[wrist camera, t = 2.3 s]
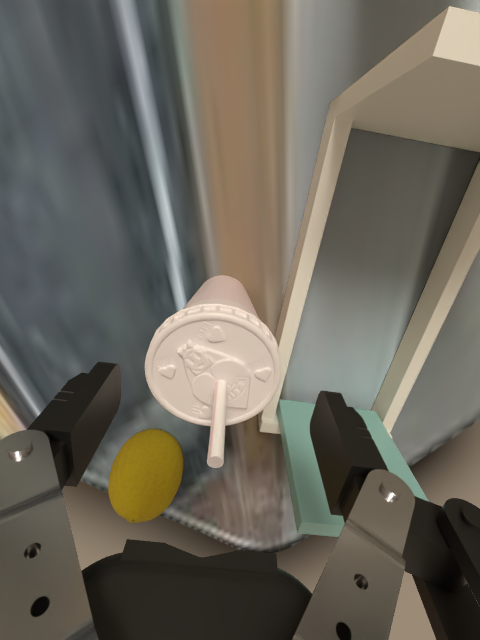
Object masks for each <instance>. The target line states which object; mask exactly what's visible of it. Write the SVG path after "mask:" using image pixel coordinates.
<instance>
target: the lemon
mask: <svg viewBox="0 0 480 640" xmlns="http://www.w3.org/2000/svg"><path fill="white" fill-rule="evenodd" d="M182 473H183V455H182V451H181V447H180V445H179V444H178V442H177V440H176V439H175V438H174V437H173V436H172V435H171V434H169V433H167V432H166V431H163V430H159V429H148V430H143V431H141V432H139V433H137V434H135V435H133V436H132V437H131V438H130V439H129V440H128V441H127V442H126V443H125V444H124V445H123V446H122V448H121V449H120V451H119V453H118V454H117V456H116V458H115V460H114V462H113V465H112V468H111V473H110V479H109V487H108V492H109V497H110V502H111V504H112V506H113V508H114V509H115V511H116V512H117V513H118V514H119V515H120V516H121V517H123V518H124V519H126V520H128V521H129V522H130V523H136V522H144V521H148V520H151V519H153V518H155V517H156V516H158V515H160V514H161V513H162V512H163V511H164V510H165V509H166V508H167V507H168V506H169V505H170V503H171V502H172V500H173V498H174V496H175V494H176V492H177V490H178V488H179V485H180V482H181V479H182Z"/></svg>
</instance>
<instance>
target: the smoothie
mask: <svg viewBox="0 0 480 640" xmlns="http://www.w3.org/2000/svg"><path fill="white" fill-rule="evenodd" d="M280 356H281V355H280V351H279V348H278V345H277V341H276V339H275V338H274V336H273V335H272V333H271V332H270V330H269V329H268V327H267V326H266V325H265V324H264V323H263V322H261V321H260V320H259V318H258V316H257V313H256V311H255V309H254V307H253V305H252V303H251V301H250V298H249V296H248V294H247V292H246V290H245V288H244V286H243V285H242V284H241V283H240V282H239V281H238V280H236V279H235V278H232V277H230V276H224V275H221V276H215V277H212V278H210V279H208V280H207V281H206V282H205V283H204V284H203V285H202V286H201V287H200V289H199V290H198V291H197V292H196V293H195V295H194V296H193V297H192V298H191V300H190V301H189V302H188V303H187V304H186V306H185V307H184V308H183V309H182V310H180V311H179V312H177V313H175V314H174V315H172V316H171V317H169V318H167V319H166V320H165V322H164V323H163V324H162V325H161V326H160V327H159V328H158V329H157V330H156V332H155V334H154V337H153V339H152V341H151V343H150V346H149V350H148V352H147V356H146V361H145V375H146V379H147V383H148V386H149V388H150V390H151V392H152V394H153V395H154V397H155V398H156V399H157V401H158V402H159V403H160V404H161V405H162V406H163V407H164V408H165V409H166V410H168V411H169V412H170V413H172V414H174V415H175V416H177V417H179V418H181V419H183V420H185V421H188V422H191V423H194V424H198V425H204V426H211V429H210V439H209V448H208V457H207V464H208V465H209V466H210V467H213V468H218V467H221V466H222V465H223V463H224V443H225V426H226V425H232V424H236V423H240V422H243V421H245V420H247V419H250V418H252V417H253V416H255V415H257V414H258V413H259V412H261V411H262V410H263V409H264V408H265V407H266V406H267V405H268V404H269V403H270V402H271V401H272V399H273V398H274V396H275V395H276V393H277V391H278V388H279V385H280V381H281V375H282V367H281V361H280Z"/></svg>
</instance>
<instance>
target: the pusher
mask: <svg viewBox="0 0 480 640" xmlns="http://www.w3.org/2000/svg"><path fill="white" fill-rule="evenodd" d="M314 408H315V404H313V403H305V402H297V401H289V400H281V399H279V401H278V405H277V415H278V421H279V427H280V432H281V438H282V444H283V450H284V456H285V462H286V468H287V474H288V480H289V486H290V492H291V498H292V504H293V510H294V516H295V522H296V528H297V533H301V534H312V535H323V536H335V537H339V535H340V533H341V531H342V529H343V527H344V524H345V522H344V519H343V516H338V515H331V513H330V510H329V506H328V502H327V498H326V494H325V490H324V486H323V483H322V479H321V475H320V471H319V467H318V463H317V459H316V456H315V452H314V448H313V444H312V440H311V436H310V420H311V417H312V414H313V411H314ZM355 410H356V411H357V412H358V413H359V414H360V415H361V416H362V418H363V420H364V422H365V424H366V426H367V430H369V432H370V434H371V436H372V439H373V440H374V442H375V444H376V446H377V448H378V450H379V452H380V454H381V456H382V458H383V460H384V462H385V464H386V466H387V468H388V470H389V472H391V473H393V474H395V475H397V476H398V477H400V478H401V479H402V480H403V481H404V482H405V483H406V484H407V485H408V486H409V487H410V489H411V490H412V492H413V494H414V496H416V497H418V498H421V499H423V500H426V501H428V499H427V498H426V496H425V494H424V493H423V491H422V489H421V488H420V486H419V484H418V482H417V481H416V479H415V477H414V476H413V474H412V472H411V471H410V469H409V467H408V466H407V464H406V462H405V460H404V459H403V457H402V455H401V454H400V452H399V450H398V449H397V447H396V445H395V443H394V442H393V440H392V438H391V437H390V435H389V433H388V432H387V430H386V428H385V426H384V425H383V423H382V421H381V420H380V418H379V416H378V415H377V413H376V411H370V410H362V409H355ZM428 502H429V501H428Z"/></svg>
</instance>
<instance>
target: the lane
mask: <svg viewBox="0 0 480 640" xmlns="http://www.w3.org/2000/svg"><path fill="white" fill-rule="evenodd" d="M351 128H355V129H360V130H366V131H371V132H376V133H381V134H386V135H392V136H397V137H402V138H407V139H412V140H418V141H423V142H428V143H433V144H438V145H444V146H449V147H454V148H459V149H464V150H470V151H475V152H480V13H478V12H473V11H469V10H464V9H460V8H456V7H451V6H449V7H448V8H446V9H445V10H444V11H443V12H441V13H440V14H439V15H438V16H436V17H435V18H434V19H433V20H431V21H430V22H429V23H428V24H427V25H425V26H424V27H423V28H422V29H420V30H419V31H418V32H417V33H415V34H414V35H413V36H412V37H410V38H409V39H408V40H407V41H406V42H404V43H403V44H402V45H401V46H399V47H398V48H397V49H396V50H394V51H393V52H392V53H391V54H389V55H388V56H387V57H386V58H385V59H383V60H382V61H381V62H380V63H378V64H377V65H376V66H375V67H373V68H372V69H371V70H370V71H368V72H367V73H366V74H365V75H364V76H362V77H361V78H360V79H359V80H357V81H356V82H355V83H354V84H352V85H351V86H350V87H349V88H347V89H346V90H345V91H344V92H343V93H341V94H340V95H339V96H338V97H336V98H335V99H334V100H333V101H331V102H330V105H329V109H328V113H327V118H326V122H325V126H324V130H323V135H322V139H321V143H320V148H319V152H318V156H317V160H316V165H315V169H314V173H313V177H312V182H311V186H310V190H309V195H308V199H307V203H306V207H305V212H304V216H303V220H302V224H301V229H300V233H299V237H298V241H297V246H296V250H295V254H294V259H293V263H292V267H291V271H290V276H289V280H288V284H287V288H286V293H285V297H284V301H283V305H282V310H281V314H280V318H279V323H278V327H277V331H276V335H275V339H276V341H277V345H278V348H279V351H280V355H281V356H280V361H281V367H282V375H281V381H280V385H279V388H278V391H277V393H276V395H275V396H274V398H273V399H272V401H271V402H270V403H269V404H268V405H267V406H266V407H265V408H264V409H263V410H262V411H261V412H259V413H258V418H259V419H258V426H259V431H260V432H267V433H276V434H281V432H280V427H279V421H278V415H277V405H278V401H279V397H280V393H281V390H282V386H283V382H284V378H285V374H286V371H287V367H288V363H289V359H290V356H291V352H292V348H293V344H294V341H295V337H296V333H297V329H298V326H299V322H300V318H301V314H302V311H303V307H304V303H305V299H306V296H307V292H308V288H309V284H310V280H311V277H312V273H313V269H314V265H315V262H316V258H317V254H318V250H319V247H320V243H321V239H322V235H323V232H324V228H325V224H326V220H327V217H328V213H329V209H330V205H331V202H332V198H333V194H334V190H335V186H336V183H337V179H338V175H339V171H340V168H341V164H342V160H343V156H344V153H345V149H346V145H347V141H348V138H349V134H350V130H351ZM479 248H480V160H479V163H478V165H477V167H476V170H475V172H474V174H473V177H472V179H471V181H470V184H469V186H468V188H467V190H466V193H465V195H464V197H463V200H462V202H461V204H460V207H459V209H458V211H457V214H456V216H455V218H454V220H453V223H452V225H451V227H450V230H449V232H448V234H447V237H446V239H445V241H444V244H443V246H442V248H441V251H440V253H439V255H438V257H437V260H436V262H435V264H434V267H433V269H432V271H431V274H430V276H429V278H428V281H427V283H426V285H425V287H424V290H423V292H422V294H421V297H420V299H419V301H418V304H417V306H416V308H415V311H414V313H413V315H412V317H411V320H410V322H409V324H408V327H407V329H406V331H405V334H404V336H403V338H402V341H401V343H400V345H399V347H398V350H397V352H396V354H395V357H394V359H393V361H392V364H391V366H390V368H389V371H388V373H387V375H386V377H385V380H384V382H383V384H382V387H381V389H380V391H379V394H378V396H377V398H376V401H375V403H374V405H373V407H372V410H371V411H376V413H377V415H378V416H379V418H380V420H381V421H382V423H383V425H384V426H385V428H386V430H387V432H388V433H389V435H390V437H391V438H392V436H391V434H390V432H391V430H392V428H393V426H394V423H395V421H396V419H397V417H398V415H399V413H400V411H401V409H402V407H403V405H404V403H405V401H406V399H407V397H408V395H409V393H410V390H411V388H412V386H413V384H414V382H415V380H416V378H417V376H418V374H419V372H420V370H421V368H422V366H423V364H424V362H425V360H426V358H427V355H428V353H429V351H430V349H431V347H432V345H433V343H434V341H435V339H436V337H437V335H438V333H439V331H440V329H441V327H442V325H443V322H444V320H445V318H446V316H447V314H448V312H449V310H450V308H451V306H452V304H453V302H454V300H455V298H456V296H457V294H458V292H459V289H460V287H461V285H462V283H463V281H464V279H465V277H466V275H467V273H468V271H469V269H470V267H471V265H472V263H473V261H474V259H475V257H476V254H477V252H478V250H479Z"/></svg>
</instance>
